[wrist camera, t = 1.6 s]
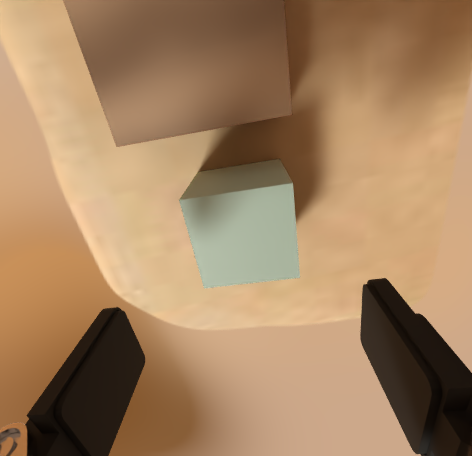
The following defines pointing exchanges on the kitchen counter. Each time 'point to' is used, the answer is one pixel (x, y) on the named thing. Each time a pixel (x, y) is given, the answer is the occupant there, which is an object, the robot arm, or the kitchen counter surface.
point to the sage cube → (242, 224)
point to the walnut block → (184, 63)
